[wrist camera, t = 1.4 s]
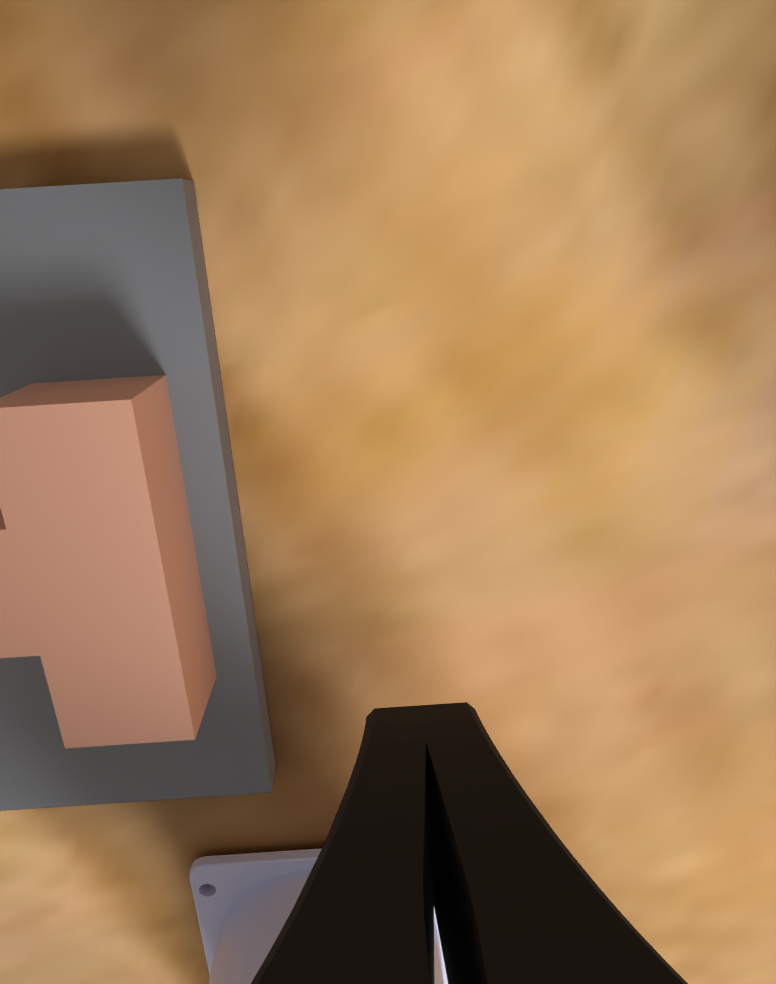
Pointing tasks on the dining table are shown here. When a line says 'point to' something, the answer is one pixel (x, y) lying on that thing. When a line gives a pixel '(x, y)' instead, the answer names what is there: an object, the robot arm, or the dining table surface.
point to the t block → (103, 560)
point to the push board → (203, 454)
